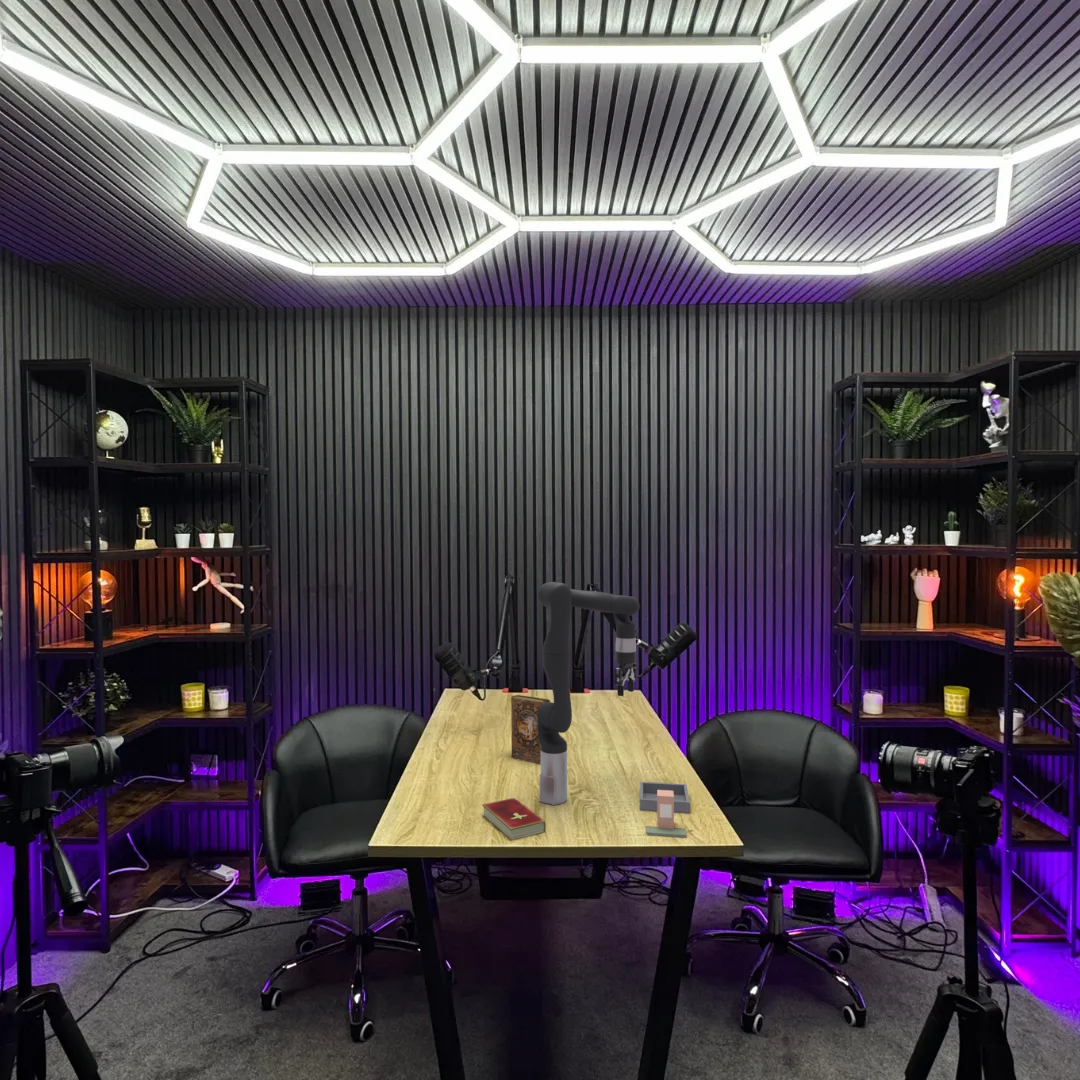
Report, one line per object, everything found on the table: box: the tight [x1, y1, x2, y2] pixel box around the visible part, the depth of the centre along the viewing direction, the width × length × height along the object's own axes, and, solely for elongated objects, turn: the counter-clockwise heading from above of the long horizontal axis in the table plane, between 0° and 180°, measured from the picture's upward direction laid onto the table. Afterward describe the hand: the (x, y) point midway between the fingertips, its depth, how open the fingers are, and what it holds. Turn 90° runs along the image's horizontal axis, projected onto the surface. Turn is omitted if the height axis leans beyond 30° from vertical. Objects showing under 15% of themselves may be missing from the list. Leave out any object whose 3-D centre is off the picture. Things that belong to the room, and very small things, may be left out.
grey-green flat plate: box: [645, 826, 687, 839], centre depth 209 cm, size 12×12×1 cm
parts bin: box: [639, 781, 691, 814], centre depth 227 cm, size 16×16×4 cm
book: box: [510, 694, 551, 765], centre depth 273 cm, size 16×6×25 cm, turn 59°
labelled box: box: [656, 790, 675, 829], centre depth 209 cm, size 5×5×10 cm
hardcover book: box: [481, 797, 547, 840], centre depth 213 cm, size 12×21×4 cm, turn 29°
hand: (625, 693), depth 247 cm, fingers open, 8 cm apart
